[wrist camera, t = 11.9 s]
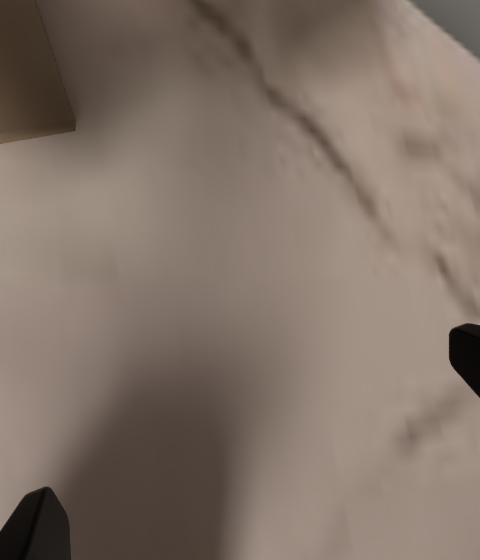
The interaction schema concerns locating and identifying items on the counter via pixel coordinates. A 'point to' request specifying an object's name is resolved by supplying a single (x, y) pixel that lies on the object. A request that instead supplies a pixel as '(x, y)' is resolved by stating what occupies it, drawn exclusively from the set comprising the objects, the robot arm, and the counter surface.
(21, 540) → the robot arm
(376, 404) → the counter surface
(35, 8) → the rail
